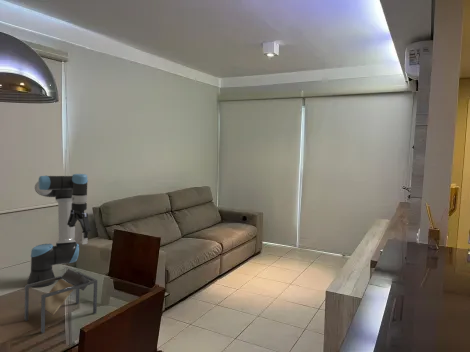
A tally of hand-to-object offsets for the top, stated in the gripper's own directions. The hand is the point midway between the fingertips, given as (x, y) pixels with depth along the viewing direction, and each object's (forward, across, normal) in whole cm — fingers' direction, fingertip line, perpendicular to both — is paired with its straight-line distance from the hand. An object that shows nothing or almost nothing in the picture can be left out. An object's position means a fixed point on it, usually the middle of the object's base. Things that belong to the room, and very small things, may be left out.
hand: (78, 241), depth 191 cm
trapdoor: (+24, +11, -10) cm, 28 cm away
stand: (+34, +11, -13) cm, 38 cm away
